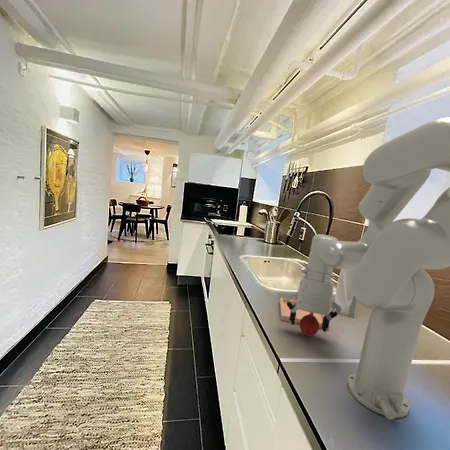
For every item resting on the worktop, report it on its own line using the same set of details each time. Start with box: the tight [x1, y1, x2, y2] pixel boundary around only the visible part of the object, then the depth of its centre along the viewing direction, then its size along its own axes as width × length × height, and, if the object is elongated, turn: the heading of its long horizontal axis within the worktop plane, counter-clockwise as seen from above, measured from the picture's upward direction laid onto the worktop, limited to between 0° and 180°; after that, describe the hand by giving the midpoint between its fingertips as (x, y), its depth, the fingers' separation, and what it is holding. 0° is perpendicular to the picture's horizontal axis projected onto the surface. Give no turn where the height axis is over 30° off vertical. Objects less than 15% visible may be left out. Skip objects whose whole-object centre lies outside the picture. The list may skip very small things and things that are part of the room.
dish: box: [279, 297, 331, 332], centre depth 99 cm, size 16×16×2 cm
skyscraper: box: [333, 269, 357, 319], centre depth 107 cm, size 8×8×28 cm
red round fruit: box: [299, 312, 320, 337], centre depth 84 cm, size 6×6×8 cm
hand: (307, 326), depth 85 cm, fingers open, 9 cm apart
